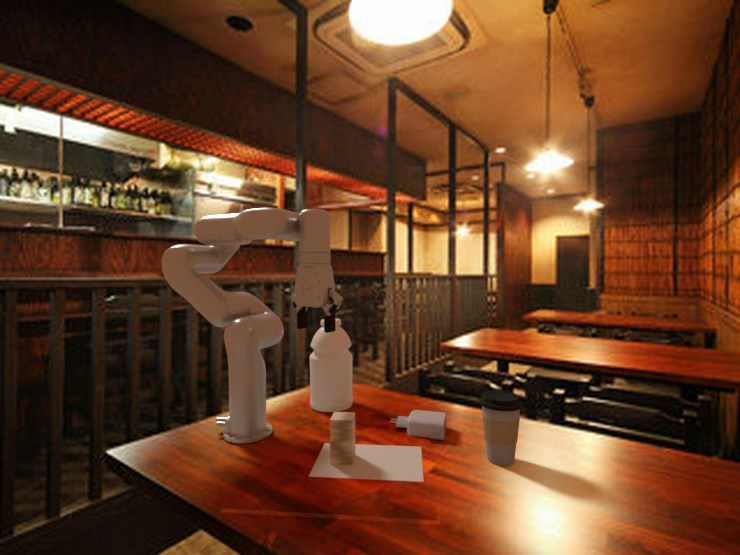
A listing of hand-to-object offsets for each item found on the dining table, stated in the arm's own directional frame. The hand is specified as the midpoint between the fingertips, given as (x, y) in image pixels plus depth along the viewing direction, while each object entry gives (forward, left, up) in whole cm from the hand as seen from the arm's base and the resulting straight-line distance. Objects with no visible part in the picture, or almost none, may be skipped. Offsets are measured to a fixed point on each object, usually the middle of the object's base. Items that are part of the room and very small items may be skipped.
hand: (315, 330), depth 97 cm
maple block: (+8, -6, -29) cm, 30 cm away
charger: (+25, +12, -30) cm, 41 cm away
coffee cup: (+44, -2, -30) cm, 53 cm away
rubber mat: (+14, -6, -29) cm, 33 cm away
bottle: (-2, +31, -30) cm, 43 cm away
